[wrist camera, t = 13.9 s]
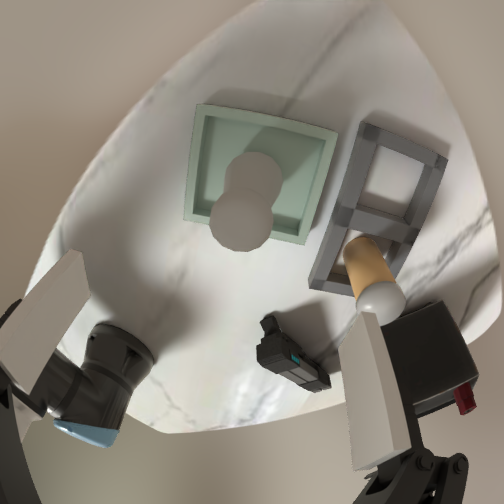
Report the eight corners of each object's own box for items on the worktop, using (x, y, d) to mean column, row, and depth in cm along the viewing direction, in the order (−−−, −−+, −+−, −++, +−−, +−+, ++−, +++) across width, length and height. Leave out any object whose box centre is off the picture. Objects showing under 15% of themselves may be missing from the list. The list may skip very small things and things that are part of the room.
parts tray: (188, 211, 32) (183, 219, 30) (202, 103, 25) (196, 104, 23) (303, 236, 32) (304, 245, 30) (334, 131, 25) (338, 133, 23)
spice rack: (307, 278, 36) (313, 337, 27) (360, 121, 24) (399, 135, 16) (378, 292, 36) (397, 347, 27) (439, 155, 25) (491, 184, 16)
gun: (276, 308, 39) (287, 374, 32) (323, 341, 52) (334, 387, 45) (250, 319, 40) (257, 382, 34) (304, 348, 53) (312, 393, 47)
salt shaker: (275, 203, 30) (271, 275, 19) (224, 192, 30) (191, 257, 19) (288, 154, 27) (295, 198, 16) (234, 141, 26) (200, 177, 16)
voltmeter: (367, 374, 48) (379, 463, 31) (350, 328, 40) (369, 445, 24) (438, 347, 42) (465, 431, 26) (439, 293, 35) (488, 397, 18)
